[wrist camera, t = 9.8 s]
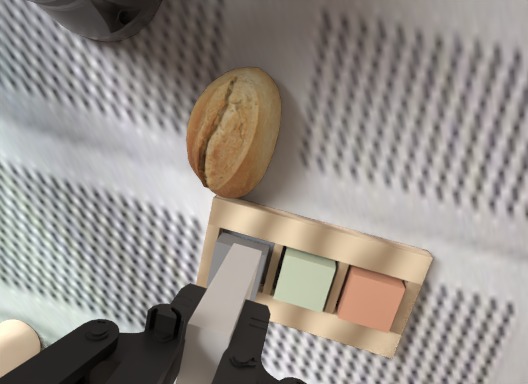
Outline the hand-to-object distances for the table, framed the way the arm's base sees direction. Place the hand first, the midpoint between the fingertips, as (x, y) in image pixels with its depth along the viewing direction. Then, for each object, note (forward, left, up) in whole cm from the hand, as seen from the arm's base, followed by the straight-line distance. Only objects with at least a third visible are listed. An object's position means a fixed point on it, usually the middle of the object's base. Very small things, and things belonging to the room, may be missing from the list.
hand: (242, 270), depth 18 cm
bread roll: (-7, +3, -25) cm, 27 cm away
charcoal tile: (-3, -12, -23) cm, 26 cm away
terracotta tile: (+13, -12, -25) cm, 30 cm away
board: (+5, -12, -25) cm, 28 cm away
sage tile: (+5, -12, -25) cm, 28 cm away
